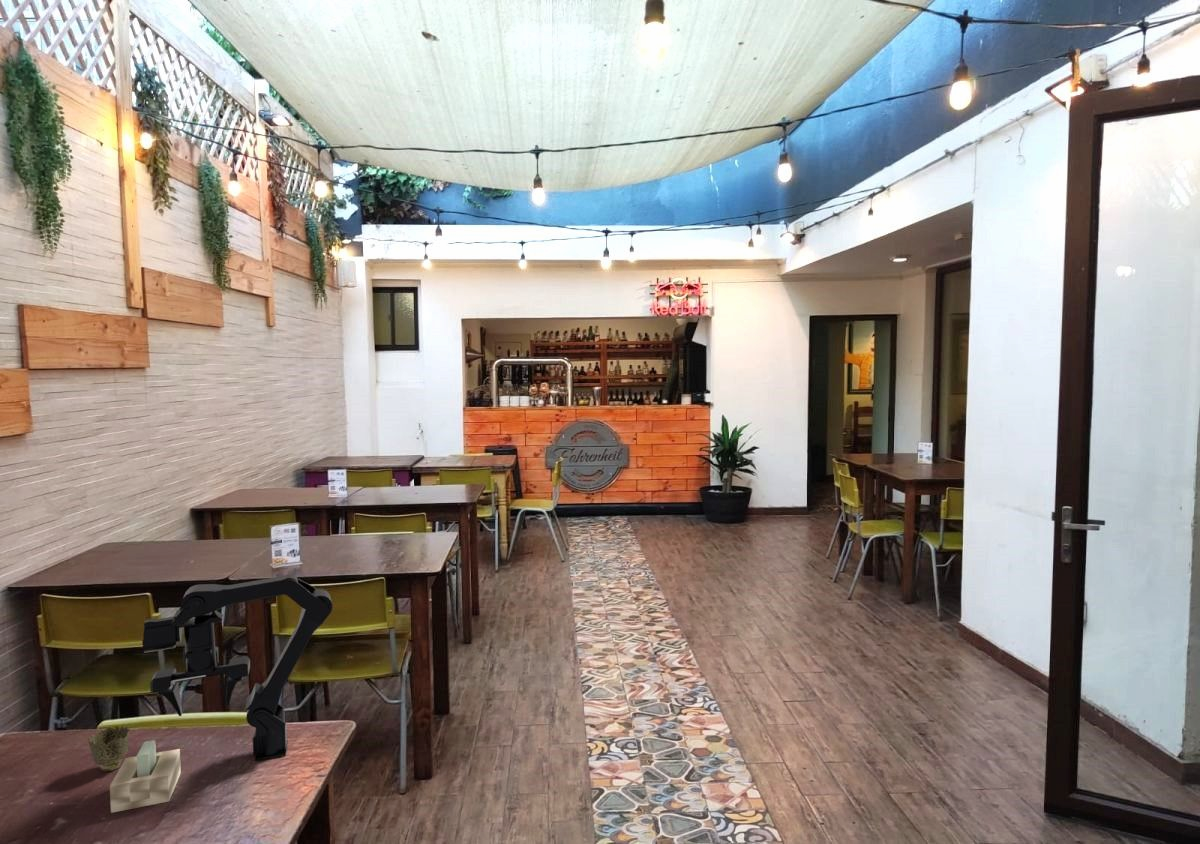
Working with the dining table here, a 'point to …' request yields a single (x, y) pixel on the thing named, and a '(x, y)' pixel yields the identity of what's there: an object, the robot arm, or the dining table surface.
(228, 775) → the dining table surface
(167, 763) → the hollow square frame
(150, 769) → the green rectangular block
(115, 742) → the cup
